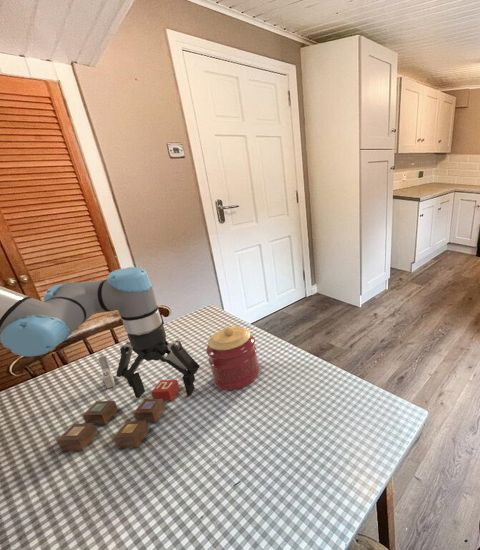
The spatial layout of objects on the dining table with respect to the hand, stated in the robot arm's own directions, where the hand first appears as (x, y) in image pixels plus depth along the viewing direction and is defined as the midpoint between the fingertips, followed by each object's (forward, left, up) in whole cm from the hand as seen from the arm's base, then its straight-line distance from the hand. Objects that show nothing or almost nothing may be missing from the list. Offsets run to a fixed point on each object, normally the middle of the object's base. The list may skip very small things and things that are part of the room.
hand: (166, 393), depth 84 cm
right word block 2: (0, -7, -1) cm, 7 cm away
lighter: (-20, +7, -1) cm, 21 cm away
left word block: (-12, -7, -1) cm, 14 cm away
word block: (-12, -14, -1) cm, 18 cm away
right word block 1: (0, -14, -1) cm, 14 cm away
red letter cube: (0, 0, -1) cm, 1 cm away
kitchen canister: (+17, +7, -1) cm, 18 cm away
